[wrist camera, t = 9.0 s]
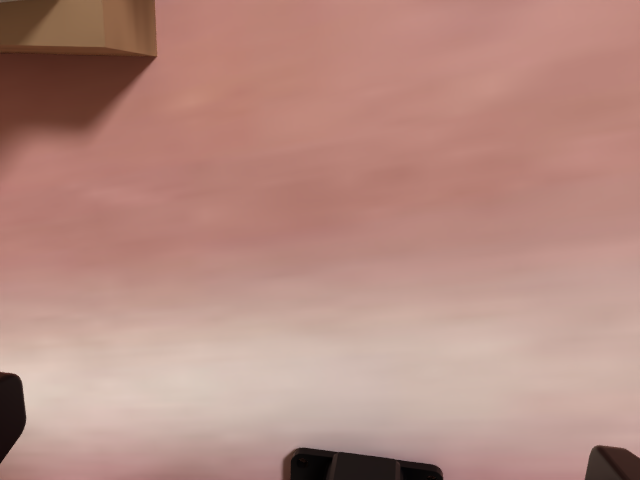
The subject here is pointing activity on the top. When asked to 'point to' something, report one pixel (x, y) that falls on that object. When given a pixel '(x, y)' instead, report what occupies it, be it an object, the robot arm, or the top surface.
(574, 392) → the top surface
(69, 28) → the walnut slab
